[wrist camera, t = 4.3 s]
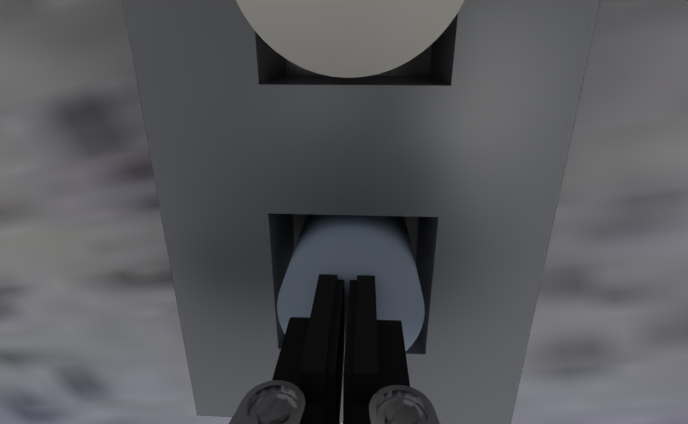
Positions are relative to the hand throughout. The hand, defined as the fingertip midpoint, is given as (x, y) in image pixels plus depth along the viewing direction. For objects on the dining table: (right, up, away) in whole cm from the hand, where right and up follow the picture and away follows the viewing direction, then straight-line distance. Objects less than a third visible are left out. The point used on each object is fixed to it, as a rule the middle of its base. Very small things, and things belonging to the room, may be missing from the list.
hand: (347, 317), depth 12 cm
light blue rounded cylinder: (0, +2, +5) cm, 5 cm away
